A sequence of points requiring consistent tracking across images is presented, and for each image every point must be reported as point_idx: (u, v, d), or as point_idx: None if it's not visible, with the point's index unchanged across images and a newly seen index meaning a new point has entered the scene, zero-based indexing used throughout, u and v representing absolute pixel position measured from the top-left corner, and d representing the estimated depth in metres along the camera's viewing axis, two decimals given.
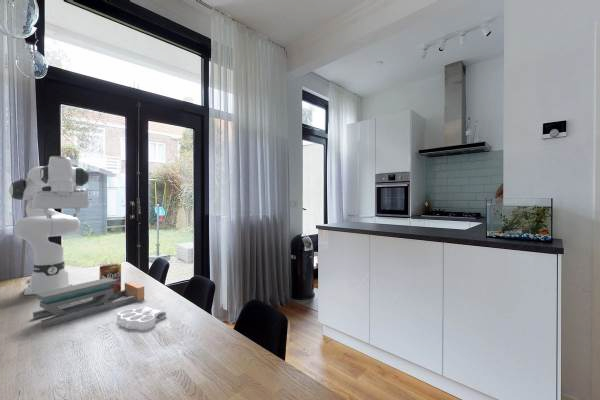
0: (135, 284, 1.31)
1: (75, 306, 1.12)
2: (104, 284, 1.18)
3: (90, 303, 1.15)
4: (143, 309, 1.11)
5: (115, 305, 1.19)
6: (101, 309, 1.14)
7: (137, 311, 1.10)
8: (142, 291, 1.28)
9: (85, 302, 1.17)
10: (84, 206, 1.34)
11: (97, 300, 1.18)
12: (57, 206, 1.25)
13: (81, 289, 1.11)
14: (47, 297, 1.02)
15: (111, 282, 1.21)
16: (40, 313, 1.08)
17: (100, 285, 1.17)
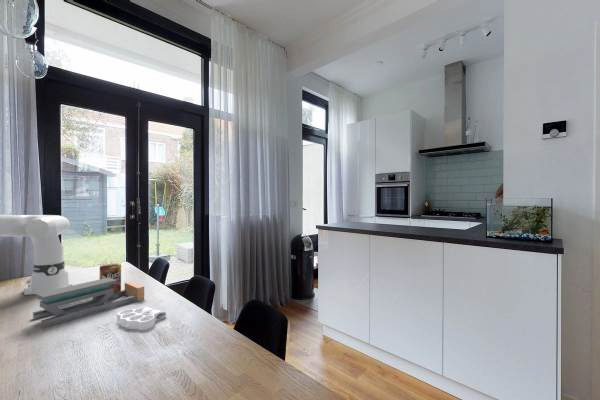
0: (135, 284, 1.31)
1: (75, 306, 1.12)
2: (104, 284, 1.18)
3: (90, 303, 1.15)
4: (143, 309, 1.11)
5: (115, 305, 1.19)
6: (101, 309, 1.14)
7: (137, 311, 1.10)
8: (142, 291, 1.28)
9: (85, 302, 1.17)
10: None
11: (97, 300, 1.18)
12: None
13: (81, 289, 1.11)
14: (47, 297, 1.02)
15: (111, 282, 1.21)
16: (40, 313, 1.08)
17: (100, 285, 1.17)
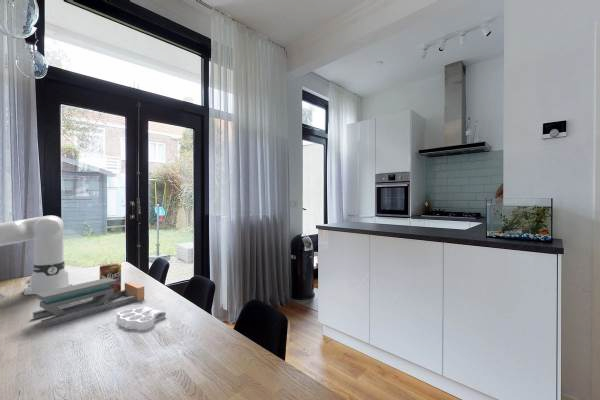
0: (135, 284, 1.31)
1: (75, 306, 1.12)
2: (104, 284, 1.18)
3: (90, 303, 1.15)
4: (143, 309, 1.11)
5: (115, 305, 1.19)
6: (101, 309, 1.14)
7: (137, 311, 1.10)
8: (142, 291, 1.28)
9: (85, 302, 1.17)
10: None
11: (97, 300, 1.18)
12: None
13: (81, 289, 1.11)
14: (47, 297, 1.02)
15: (111, 282, 1.21)
16: (40, 313, 1.08)
17: (100, 285, 1.17)
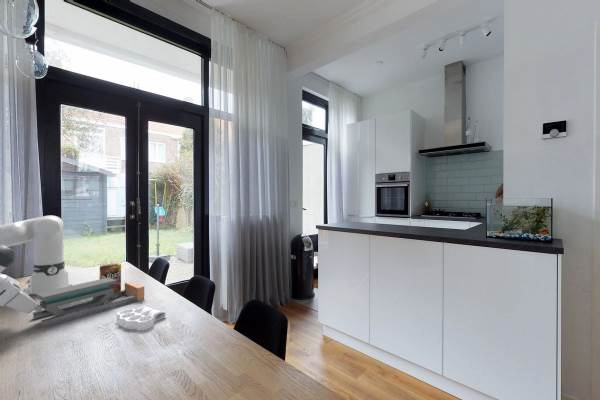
0: (135, 284, 1.31)
1: (75, 306, 1.12)
2: (104, 284, 1.18)
3: (90, 303, 1.15)
4: (143, 309, 1.11)
5: (115, 305, 1.19)
6: (101, 309, 1.14)
7: (137, 311, 1.10)
8: (142, 291, 1.28)
9: (85, 302, 1.17)
10: (26, 293, 1.07)
11: (97, 300, 1.18)
12: (32, 299, 1.00)
13: (81, 289, 1.11)
14: (47, 297, 1.02)
15: (111, 282, 1.21)
16: (40, 313, 1.08)
17: (100, 285, 1.17)
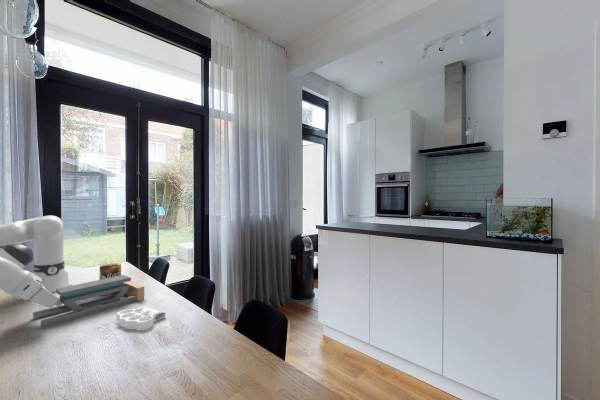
0: (135, 284, 1.31)
1: (91, 302, 1.17)
2: (119, 281, 1.22)
3: (106, 300, 1.20)
4: (143, 309, 1.11)
5: (115, 305, 1.19)
6: (101, 309, 1.14)
7: (137, 311, 1.10)
8: (142, 291, 1.28)
9: (102, 298, 1.22)
10: None
11: (112, 296, 1.23)
12: None
13: (97, 285, 1.16)
14: (65, 292, 1.07)
15: (126, 279, 1.25)
16: (40, 313, 1.08)
17: (115, 282, 1.21)
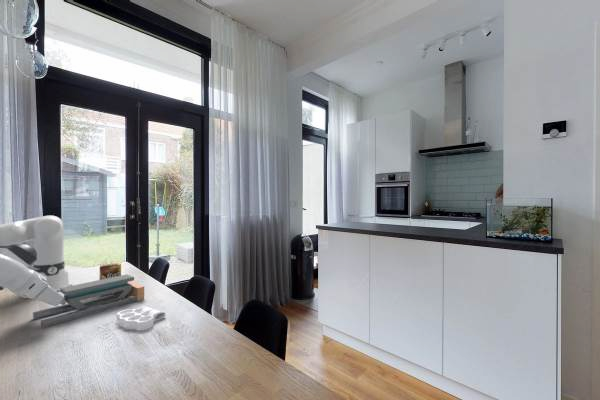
0: (135, 284, 1.31)
1: (95, 301, 1.18)
2: (122, 280, 1.23)
3: (109, 299, 1.21)
4: (142, 309, 1.11)
5: (115, 305, 1.19)
6: (101, 309, 1.14)
7: (137, 311, 1.09)
8: (142, 291, 1.28)
9: (105, 297, 1.23)
10: None
11: (116, 295, 1.24)
12: None
13: (101, 285, 1.17)
14: (70, 292, 1.08)
15: (129, 279, 1.26)
16: (40, 313, 1.08)
17: (119, 281, 1.22)
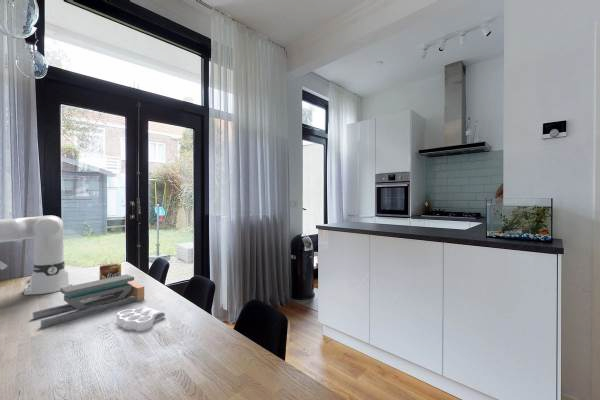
0: (135, 284, 1.31)
1: (95, 301, 1.18)
2: (122, 280, 1.23)
3: (109, 299, 1.21)
4: (142, 309, 1.10)
5: (115, 305, 1.19)
6: (101, 309, 1.14)
7: (137, 311, 1.09)
8: (142, 291, 1.28)
9: (105, 297, 1.23)
10: None
11: (116, 295, 1.24)
12: None
13: (101, 285, 1.17)
14: (70, 292, 1.08)
15: (129, 279, 1.26)
16: (40, 313, 1.08)
17: (119, 281, 1.22)
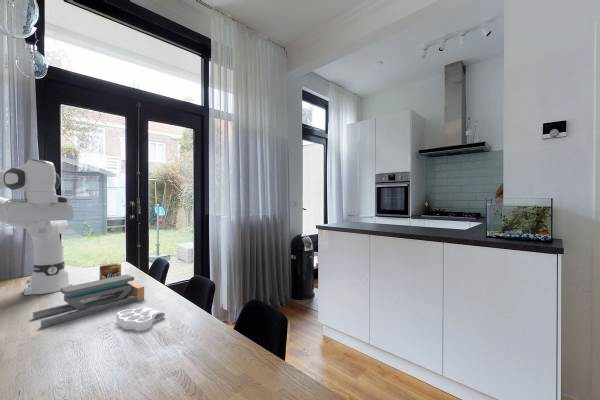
0: (135, 284, 1.31)
1: (95, 301, 1.18)
2: (122, 280, 1.23)
3: (109, 299, 1.21)
4: (142, 309, 1.10)
5: (115, 305, 1.19)
6: (101, 309, 1.14)
7: (136, 311, 1.09)
8: (142, 291, 1.28)
9: (105, 297, 1.23)
10: None
11: (116, 295, 1.24)
12: None
13: (101, 285, 1.17)
14: (70, 292, 1.08)
15: (129, 279, 1.26)
16: (40, 313, 1.08)
17: (119, 281, 1.22)
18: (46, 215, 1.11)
